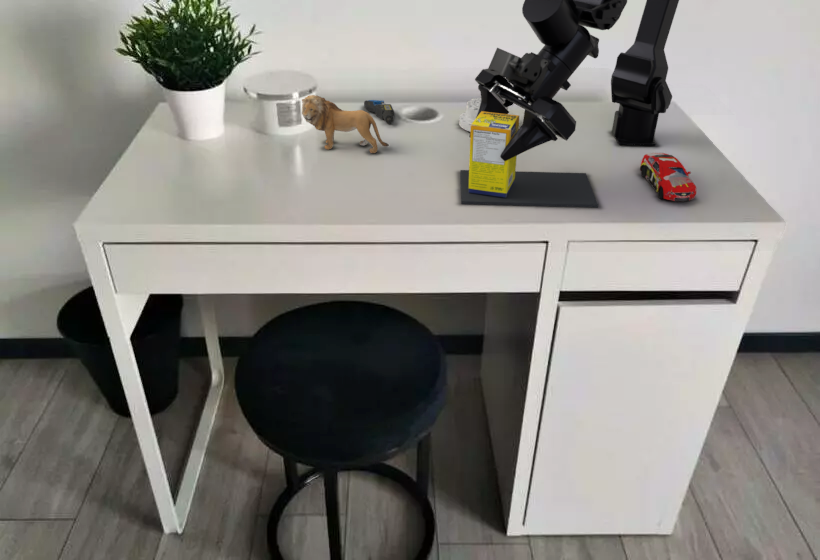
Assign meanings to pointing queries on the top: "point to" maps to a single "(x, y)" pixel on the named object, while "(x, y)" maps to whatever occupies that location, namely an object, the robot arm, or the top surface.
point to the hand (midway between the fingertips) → (486, 148)
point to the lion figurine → (339, 121)
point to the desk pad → (537, 190)
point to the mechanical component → (470, 113)
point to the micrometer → (380, 109)
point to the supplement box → (491, 154)
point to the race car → (668, 177)
